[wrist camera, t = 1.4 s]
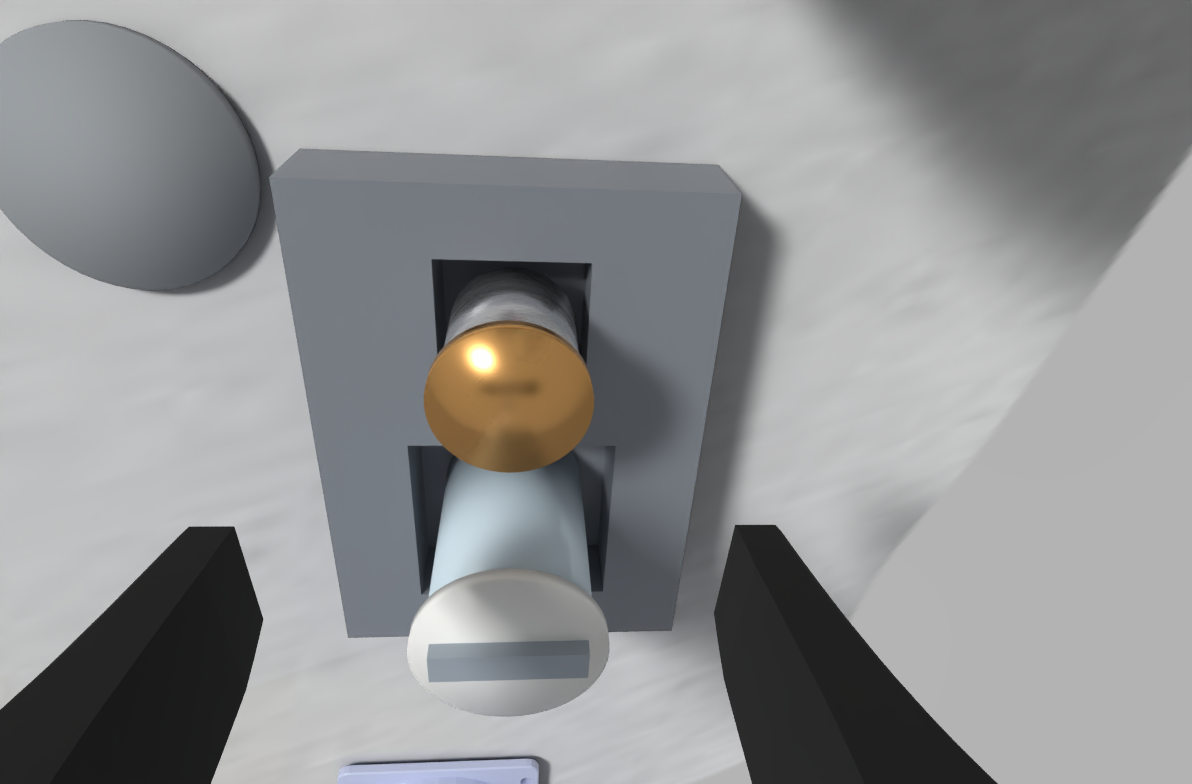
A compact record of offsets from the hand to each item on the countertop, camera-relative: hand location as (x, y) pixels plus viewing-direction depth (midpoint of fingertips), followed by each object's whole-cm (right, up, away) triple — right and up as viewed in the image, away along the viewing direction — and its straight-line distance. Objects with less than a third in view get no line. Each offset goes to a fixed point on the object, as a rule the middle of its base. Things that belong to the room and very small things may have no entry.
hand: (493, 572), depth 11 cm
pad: (-9, +8, +6) cm, 14 cm away
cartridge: (-1, 0, +11) cm, 11 cm away
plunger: (0, +4, +7) cm, 8 cm away
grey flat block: (-1, +2, +10) cm, 11 cm away
